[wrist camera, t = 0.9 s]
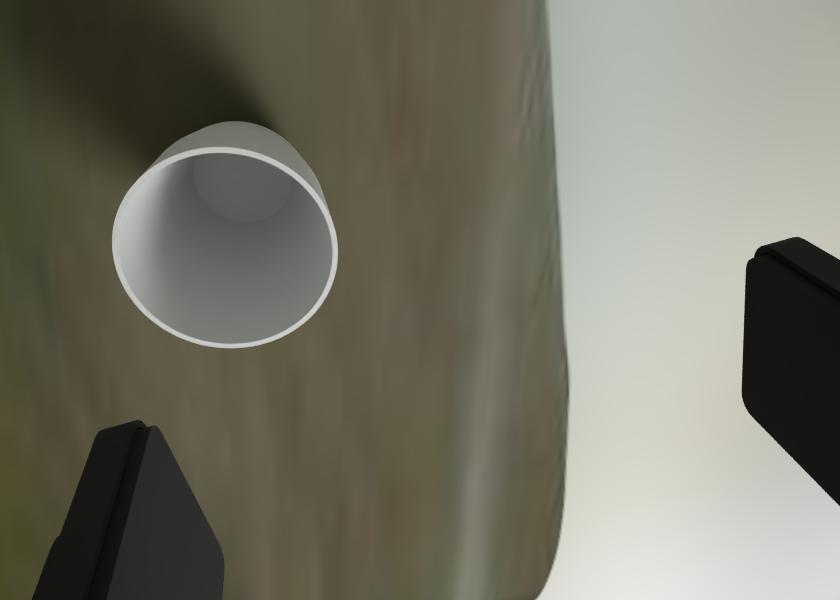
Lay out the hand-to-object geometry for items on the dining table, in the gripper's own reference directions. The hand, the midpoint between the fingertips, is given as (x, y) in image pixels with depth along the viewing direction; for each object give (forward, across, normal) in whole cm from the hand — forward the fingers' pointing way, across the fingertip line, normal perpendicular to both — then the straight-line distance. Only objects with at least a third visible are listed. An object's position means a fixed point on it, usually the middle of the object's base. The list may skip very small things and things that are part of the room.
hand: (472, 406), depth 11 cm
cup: (+26, +6, +3) cm, 27 cm away
